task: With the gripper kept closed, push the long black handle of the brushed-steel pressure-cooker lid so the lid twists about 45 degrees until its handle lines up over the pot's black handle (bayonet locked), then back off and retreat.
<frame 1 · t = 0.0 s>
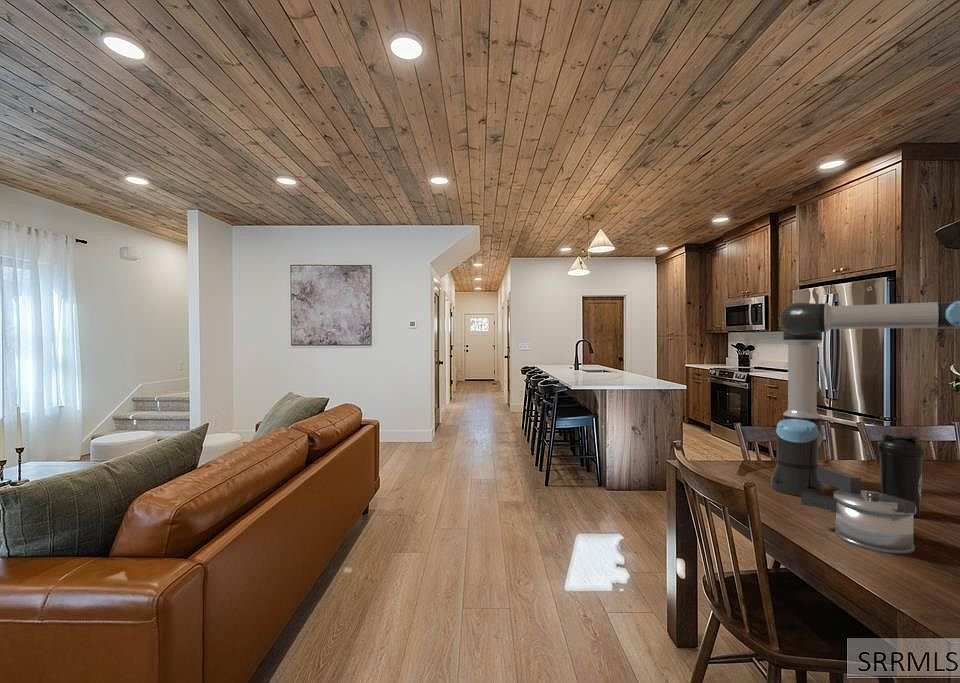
pot: (872, 540, 116), on the table
water bottle: (900, 512, 136), on the table
lid: (861, 489, 120), point 12 cm above the table, hinge at 45.0°
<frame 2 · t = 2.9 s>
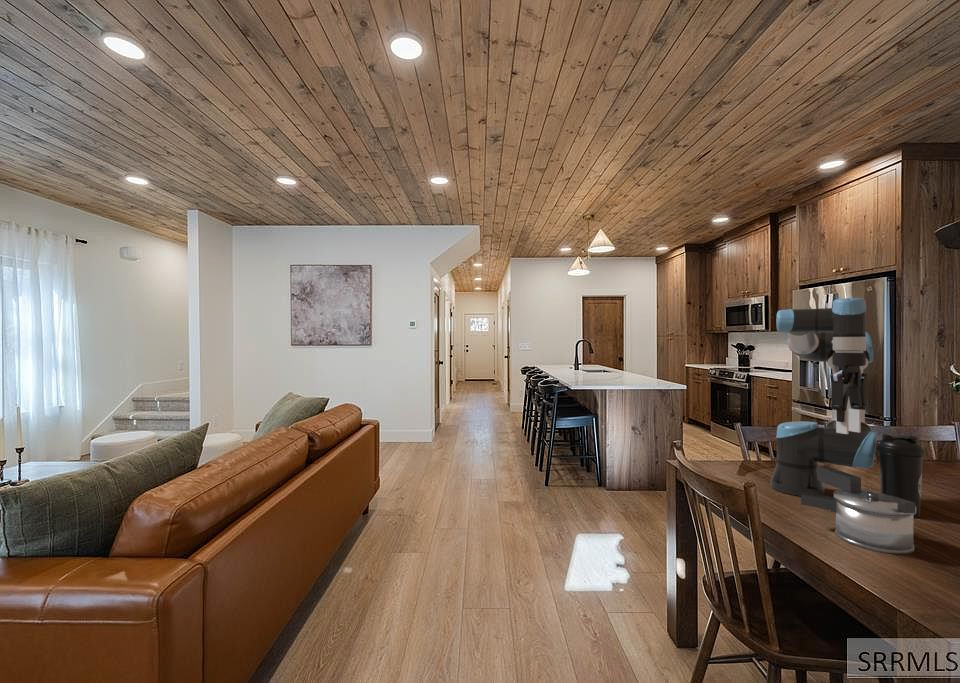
hand: (848, 432, 131), 25 cm above the table, fingers open, 5 cm apart
nothing on the table moved.
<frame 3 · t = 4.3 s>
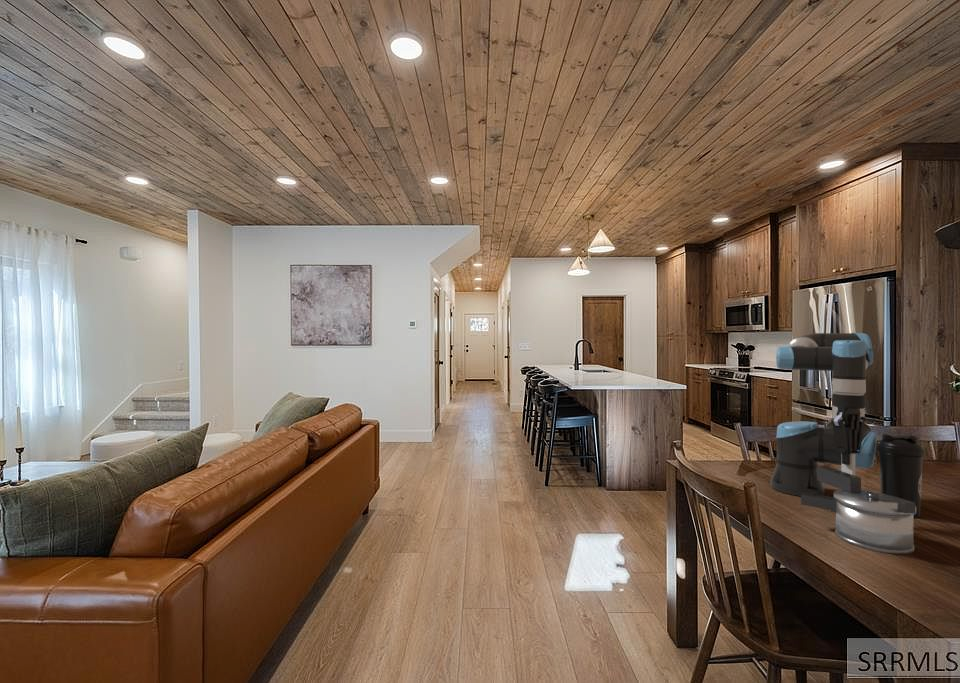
hand: (848, 475, 131), 12 cm above the table, fingers closed
nothing on the table moved.
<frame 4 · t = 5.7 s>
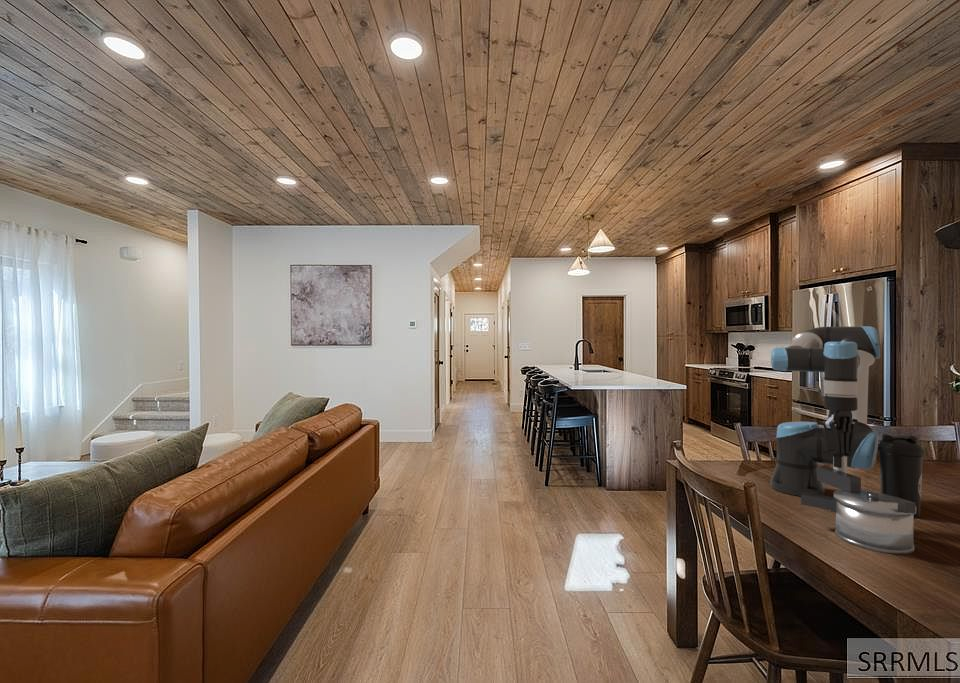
hand: (840, 478, 129), 12 cm above the table, fingers closed
lid: (861, 489, 120), point 12 cm above the table, hinge at 44.7°, touching gripper
everything else where it was.
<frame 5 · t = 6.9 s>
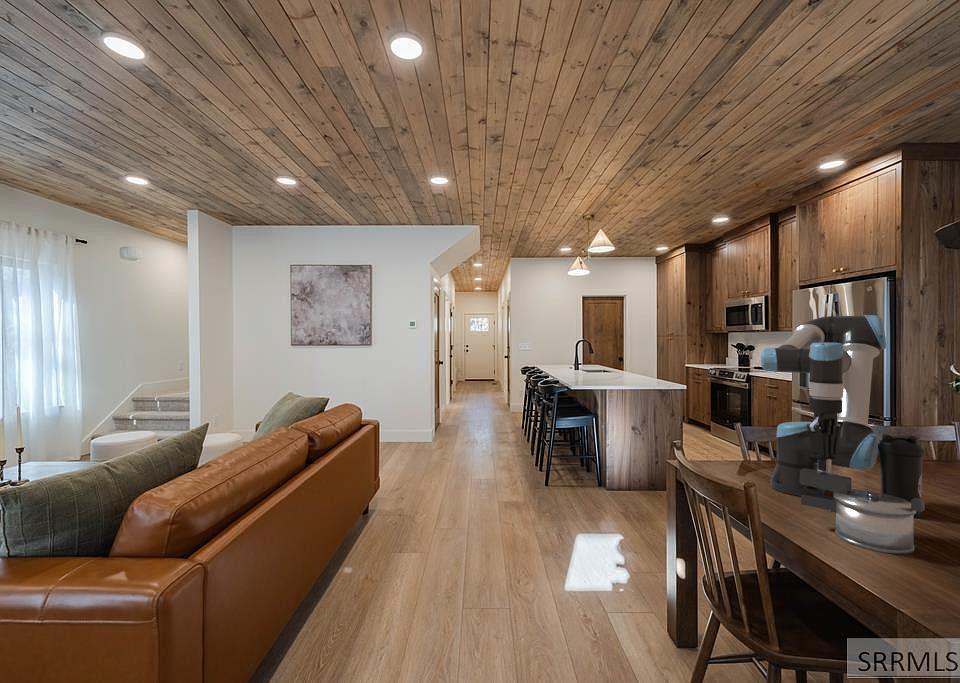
hand: (824, 481, 127), 12 cm above the table, fingers closed
lid: (857, 490, 119), point 12 cm above the table, hinge at 15.8°, touching gripper
everything else where it was.
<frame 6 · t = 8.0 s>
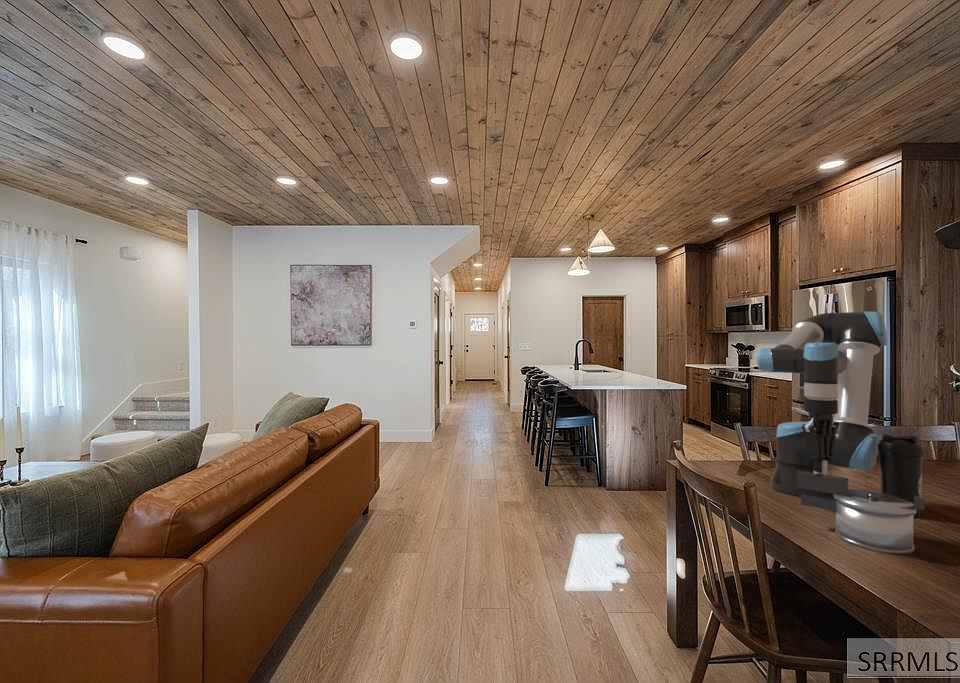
hand: (820, 483, 126), 12 cm above the table, fingers closed
lid: (856, 491, 119), point 12 cm above the table, hinge at 0.5°, touching gripper
everything else where it was.
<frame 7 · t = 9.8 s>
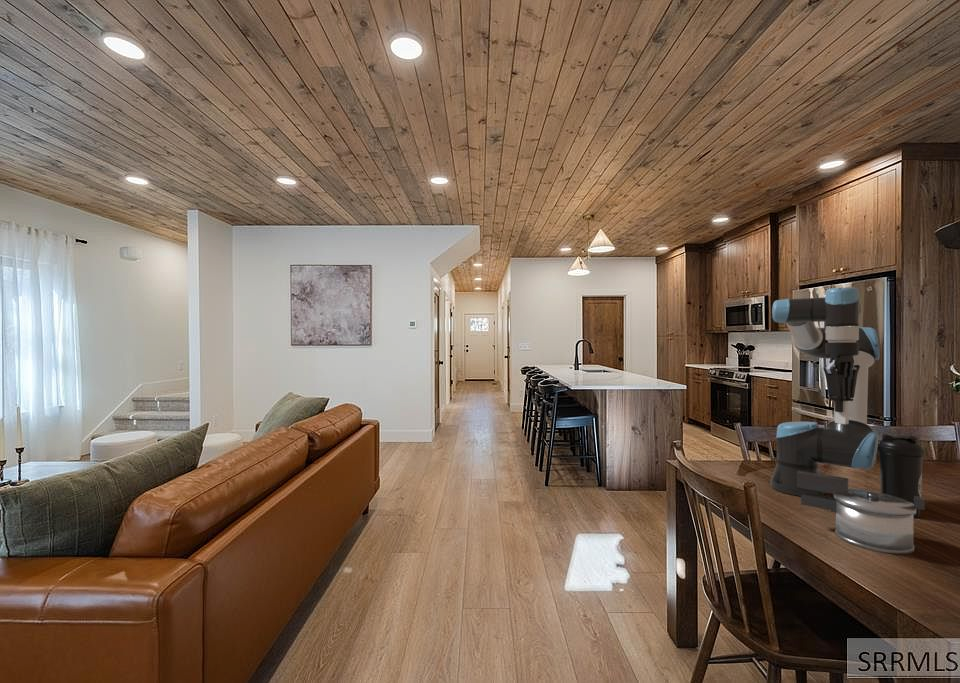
hand: (841, 423, 131), 27 cm above the table, fingers closed
lid: (856, 491, 119), point 12 cm above the table, hinge at 0.5°
everything else where it was.
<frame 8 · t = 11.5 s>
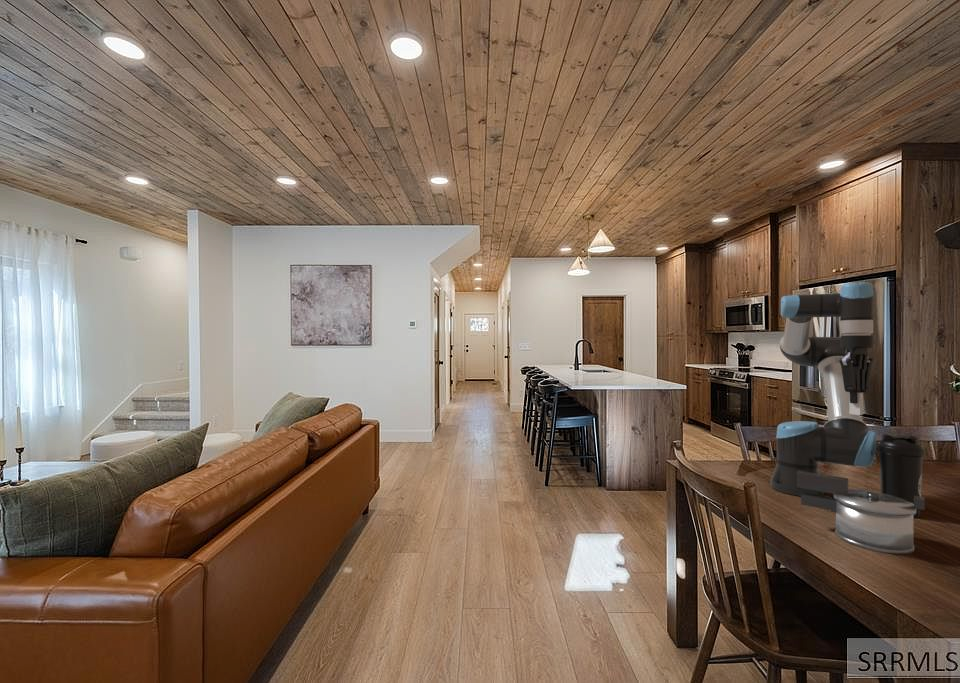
hand: (856, 414, 135), 29 cm above the table, fingers closed
nothing on the table moved.
at the end: lid at +0° (first picture: +45°) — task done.
